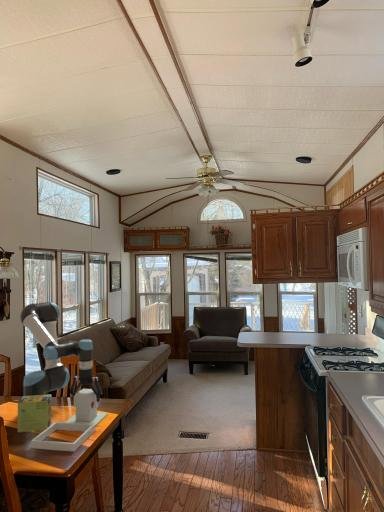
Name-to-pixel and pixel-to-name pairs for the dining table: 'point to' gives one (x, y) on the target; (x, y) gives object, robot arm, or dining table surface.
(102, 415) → the pad
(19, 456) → the dining table surface
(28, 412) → the protein box
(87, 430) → the bin
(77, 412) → the supplement box
